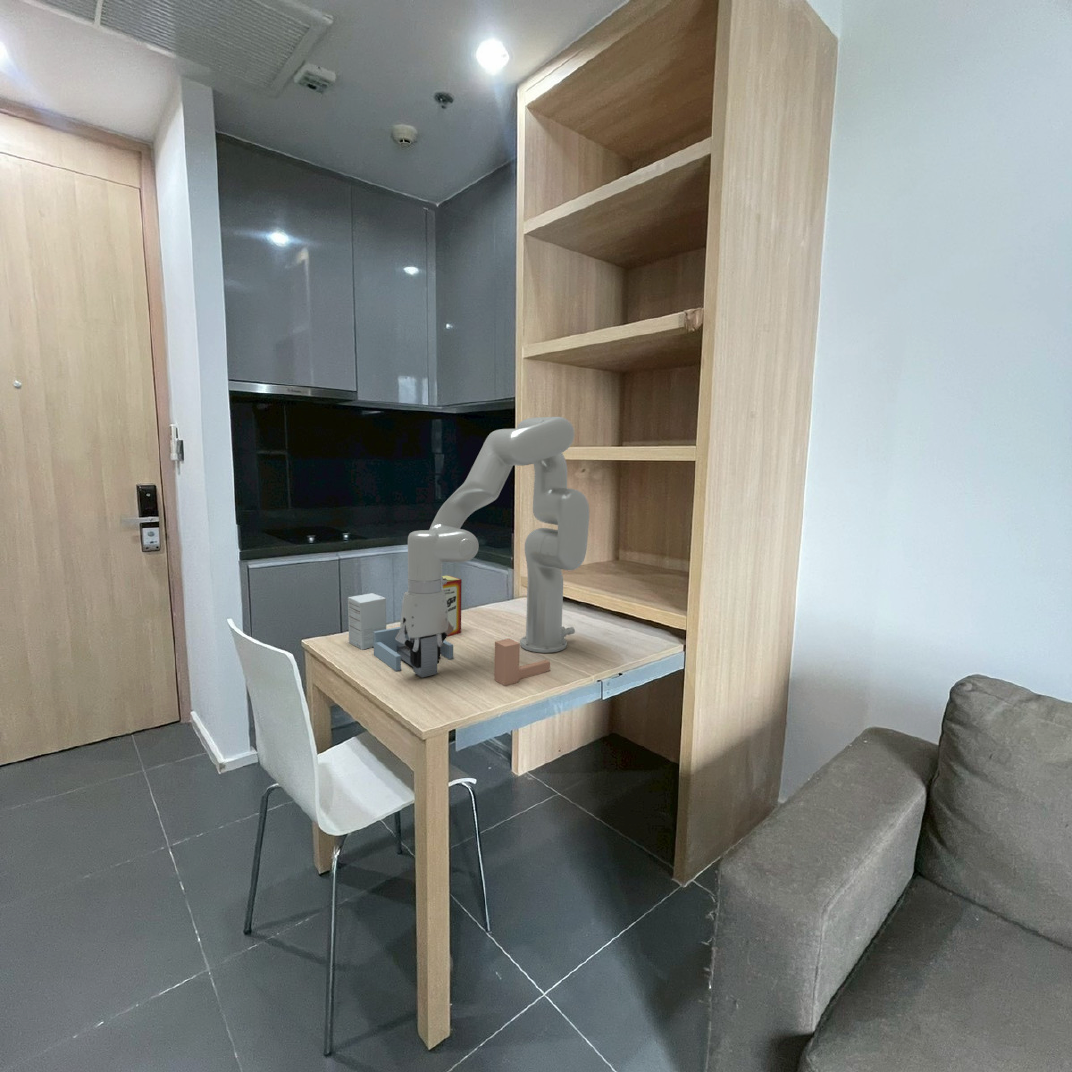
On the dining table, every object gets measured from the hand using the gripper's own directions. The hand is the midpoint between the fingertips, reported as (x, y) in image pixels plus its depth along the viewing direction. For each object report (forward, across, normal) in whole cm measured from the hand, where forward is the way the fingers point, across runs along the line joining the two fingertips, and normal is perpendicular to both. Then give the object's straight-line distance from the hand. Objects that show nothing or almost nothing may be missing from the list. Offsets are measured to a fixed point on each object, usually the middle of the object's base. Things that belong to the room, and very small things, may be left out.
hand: (425, 663), depth 127 cm
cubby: (+3, -3, -13) cm, 13 cm away
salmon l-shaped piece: (+3, -18, +13) cm, 23 cm away
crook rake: (+2, -3, -6) cm, 7 cm away
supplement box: (+3, +3, -28) cm, 28 cm away
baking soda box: (+3, -17, -25) cm, 30 cm away
